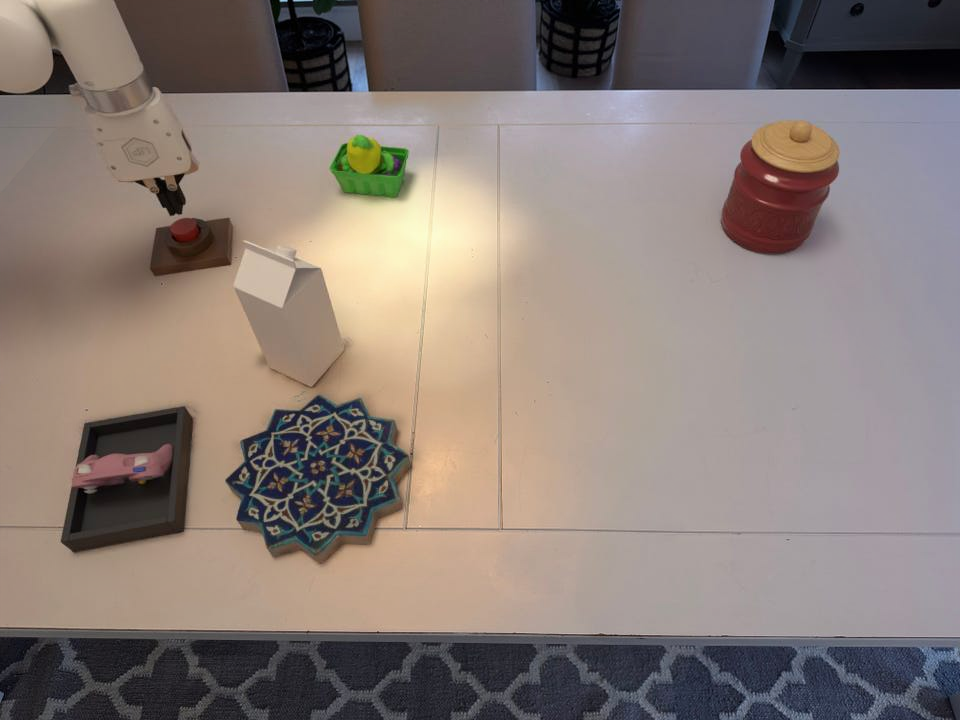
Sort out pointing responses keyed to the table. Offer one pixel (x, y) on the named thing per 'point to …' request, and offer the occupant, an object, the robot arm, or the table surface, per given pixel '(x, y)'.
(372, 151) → the fruit basket
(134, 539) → the dock
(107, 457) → the pink toy car
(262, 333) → the milk carton
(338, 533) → the decorative tile
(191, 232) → the power button
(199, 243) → the switch block
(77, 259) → the table surface
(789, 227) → the kitchen canister
